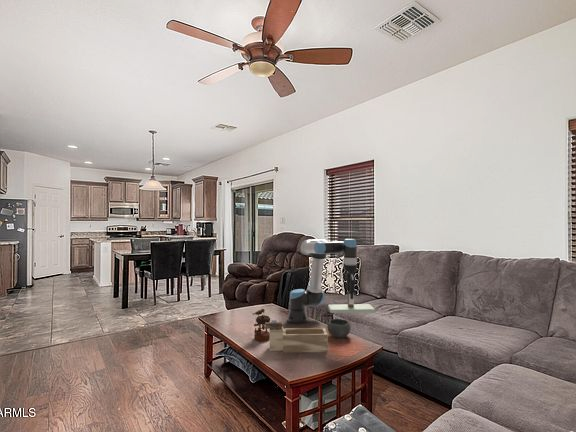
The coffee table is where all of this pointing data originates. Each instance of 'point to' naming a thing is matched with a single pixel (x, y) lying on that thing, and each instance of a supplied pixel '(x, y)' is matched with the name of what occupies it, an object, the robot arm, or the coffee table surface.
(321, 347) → the toolbox
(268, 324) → the tan wooden beam
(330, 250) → the robot arm
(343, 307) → the lid
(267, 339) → the music box
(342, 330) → the bowl
